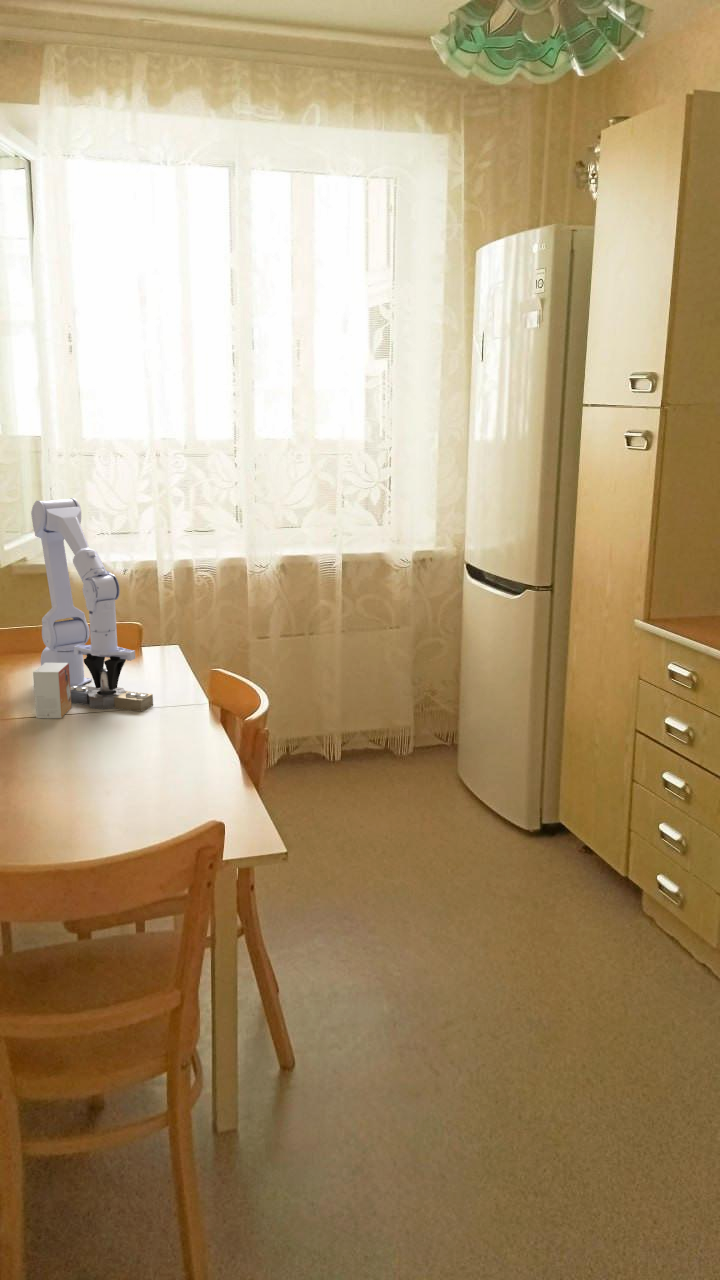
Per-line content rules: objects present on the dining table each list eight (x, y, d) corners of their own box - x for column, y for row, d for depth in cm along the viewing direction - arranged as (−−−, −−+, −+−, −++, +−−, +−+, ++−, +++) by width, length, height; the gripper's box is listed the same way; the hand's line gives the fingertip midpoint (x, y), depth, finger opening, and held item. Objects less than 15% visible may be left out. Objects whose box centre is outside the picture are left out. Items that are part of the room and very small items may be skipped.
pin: (97, 700, 230) (96, 670, 228) (106, 697, 232) (105, 667, 231) (108, 702, 228) (106, 672, 227) (117, 699, 231) (115, 669, 229)
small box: (61, 719, 219) (58, 672, 217) (35, 718, 220) (32, 671, 217) (72, 707, 227) (69, 662, 225) (47, 707, 227) (44, 661, 225)
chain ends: (57, 703, 230) (56, 690, 229) (78, 693, 237) (77, 681, 237) (137, 713, 223) (137, 700, 223) (156, 703, 231) (156, 690, 230)
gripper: (64, 630, 225) (68, 689, 228) (121, 636, 220) (124, 696, 224) (83, 623, 231) (86, 680, 235) (139, 629, 227) (141, 687, 230)
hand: (106, 687), depth 229 cm, fingers closed on pin, 3 cm apart
